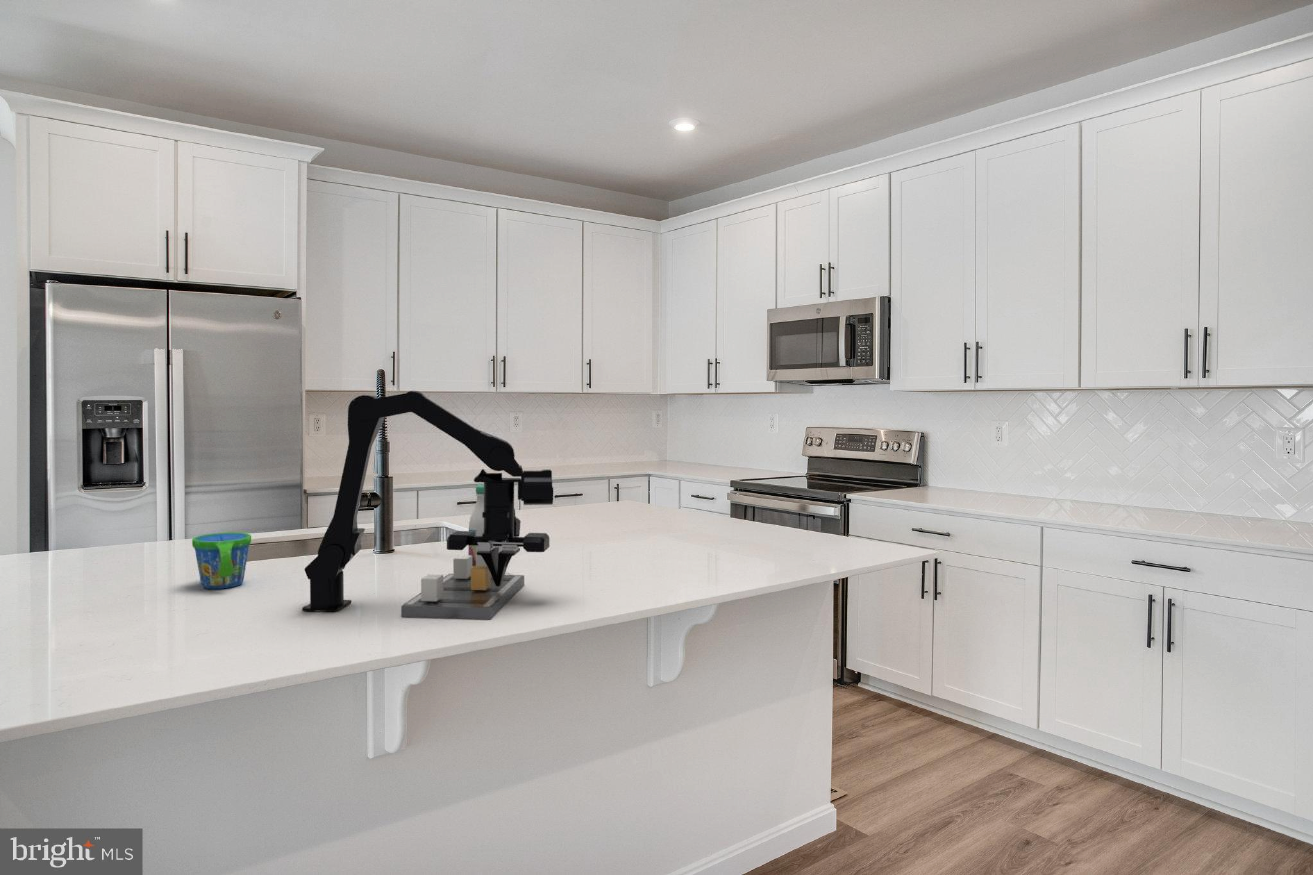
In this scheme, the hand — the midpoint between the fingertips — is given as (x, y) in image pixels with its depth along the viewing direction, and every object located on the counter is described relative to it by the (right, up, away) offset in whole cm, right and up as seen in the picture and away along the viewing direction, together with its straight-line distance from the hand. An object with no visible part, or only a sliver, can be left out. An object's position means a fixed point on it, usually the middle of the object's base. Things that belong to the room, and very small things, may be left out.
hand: (498, 585), depth 150 cm
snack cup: (-59, -2, +10) cm, 59 cm away
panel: (-6, -3, +1) cm, 7 cm away
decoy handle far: (-9, 0, +10) cm, 13 cm away
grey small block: (-10, -1, -8) cm, 13 cm away
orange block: (-3, -1, 0) cm, 4 cm away
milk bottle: (-7, -2, +21) cm, 22 cm away
